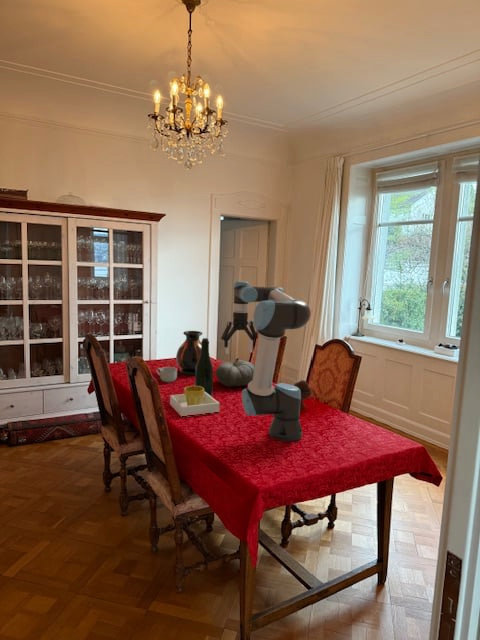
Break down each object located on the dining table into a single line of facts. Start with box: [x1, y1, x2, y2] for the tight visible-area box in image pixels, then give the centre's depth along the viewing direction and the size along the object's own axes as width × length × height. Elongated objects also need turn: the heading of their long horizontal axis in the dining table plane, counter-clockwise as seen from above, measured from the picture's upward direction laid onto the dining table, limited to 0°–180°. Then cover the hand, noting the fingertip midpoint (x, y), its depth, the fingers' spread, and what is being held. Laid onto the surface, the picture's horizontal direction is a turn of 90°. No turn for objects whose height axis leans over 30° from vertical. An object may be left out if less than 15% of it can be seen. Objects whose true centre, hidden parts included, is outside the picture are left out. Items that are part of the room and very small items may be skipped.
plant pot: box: [183, 385, 204, 406], centre depth 231 cm, size 10×10×10 cm
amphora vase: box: [175, 330, 203, 376], centre depth 300 cm, size 22×22×28 cm
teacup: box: [156, 366, 178, 383], centre depth 279 cm, size 14×11×8 cm
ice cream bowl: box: [293, 379, 313, 409], centre depth 241 cm, size 11×11×15 cm
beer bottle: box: [194, 337, 214, 397], centre depth 253 cm, size 10×10×33 cm
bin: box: [169, 392, 220, 417], centre depth 231 cm, size 20×20×5 cm
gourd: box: [215, 357, 255, 388], centre depth 277 cm, size 25×25×17 cm
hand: (239, 352), depth 227 cm, fingers open, 13 cm apart
